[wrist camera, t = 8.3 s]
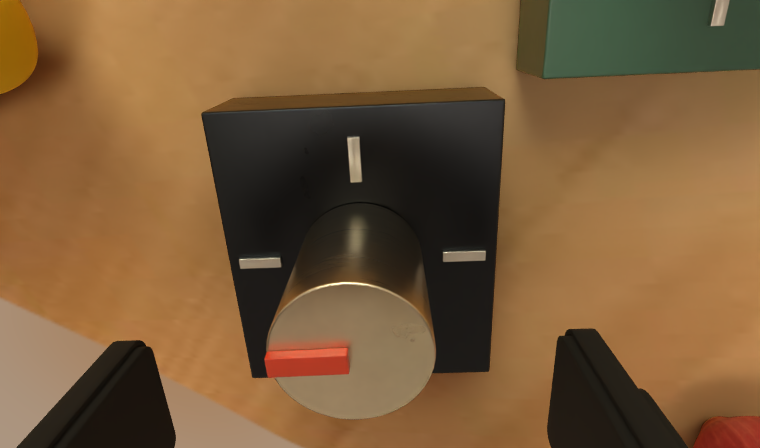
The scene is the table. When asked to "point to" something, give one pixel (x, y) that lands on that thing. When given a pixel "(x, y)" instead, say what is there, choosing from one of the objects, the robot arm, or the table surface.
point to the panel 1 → (364, 196)
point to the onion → (730, 433)
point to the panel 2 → (637, 37)
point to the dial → (354, 317)
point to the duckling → (16, 45)
